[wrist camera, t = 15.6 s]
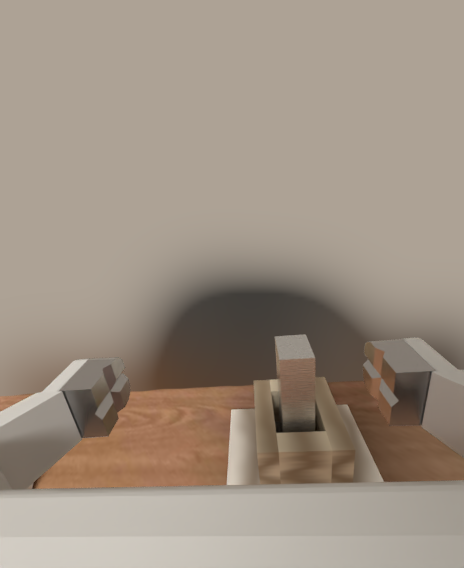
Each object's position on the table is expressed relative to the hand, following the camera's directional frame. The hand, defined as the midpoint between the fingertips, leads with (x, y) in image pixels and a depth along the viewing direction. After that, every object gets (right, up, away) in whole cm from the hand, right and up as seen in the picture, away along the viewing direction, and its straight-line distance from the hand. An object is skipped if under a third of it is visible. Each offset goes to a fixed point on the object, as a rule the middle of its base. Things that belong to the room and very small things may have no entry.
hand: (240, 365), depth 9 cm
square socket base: (+9, -23, +29) cm, 38 cm away
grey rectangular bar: (+9, -20, +28) cm, 36 cm away
